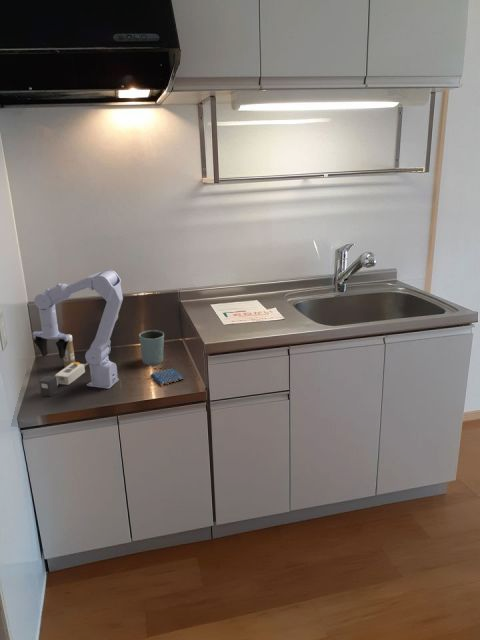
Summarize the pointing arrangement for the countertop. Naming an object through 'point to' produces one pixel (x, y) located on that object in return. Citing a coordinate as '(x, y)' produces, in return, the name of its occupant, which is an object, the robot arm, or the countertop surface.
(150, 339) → the teal cup
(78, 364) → the power strip
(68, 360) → the sprinkles bottle
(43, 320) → the robot arm
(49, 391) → the charger
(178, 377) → the woven mat
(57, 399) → the countertop surface
